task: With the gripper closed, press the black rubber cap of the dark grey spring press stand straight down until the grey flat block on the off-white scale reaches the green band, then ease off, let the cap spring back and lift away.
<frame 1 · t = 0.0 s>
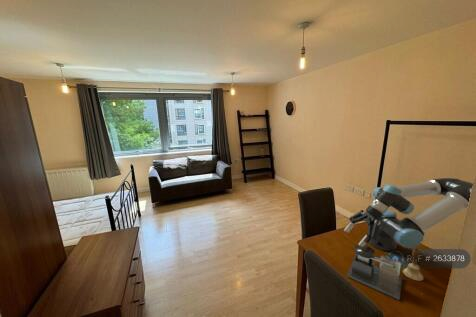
hand: (352, 238, 114), 15 cm above the table, tool tilted 35°, fingers open, 13 cm apart
press stand: (371, 276, 106), on the table
hand bell: (412, 275, 105), on the table
grey flat block: (389, 265, 97), point 12 cm above the table, slide at 0.9 cm, touching plunger
plunger: (372, 260, 104), point 10 cm above the table, slide at 1.2 cm, touching grey flat block, gripper
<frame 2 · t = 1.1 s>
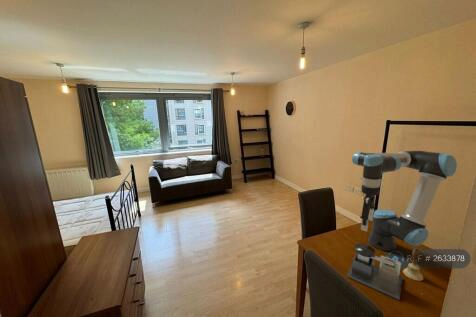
hand: (366, 225, 103), 29 cm above the table, tool pointing down, fingers open, 12 cm apart
grey flat block: (389, 265, 97), point 12 cm above the table, slide at 0.9 cm
plunger: (373, 259, 103), point 10 cm above the table, slide at 0.6 cm
everything else where it was.
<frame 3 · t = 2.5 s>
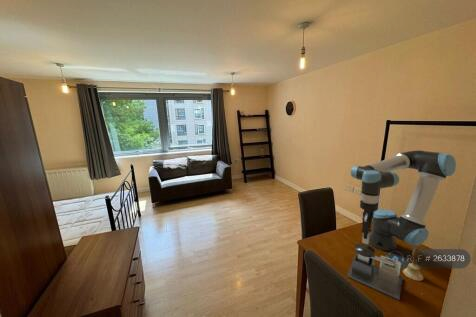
hand: (365, 242, 104), 19 cm above the table, tool pointing down, fingers closed
nothing on the table moved.
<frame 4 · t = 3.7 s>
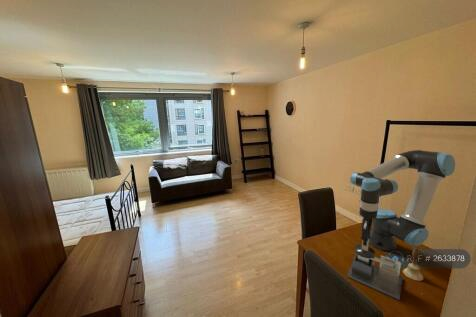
hand: (364, 249, 105), 14 cm above the table, tool pointing down, fingers closed
grey flat block: (389, 265, 97), point 12 cm above the table, slide at 1.0 cm, touching plunger
plunger: (372, 260, 104), point 10 cm above the table, slide at 1.3 cm, touching grey flat block, gripper
everything else where it was.
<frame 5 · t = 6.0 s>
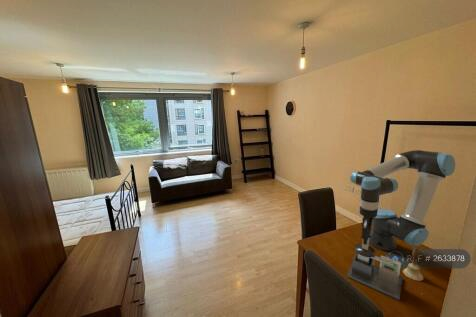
hand: (364, 248, 105), 15 cm above the table, tool pointing down, fingers closed
grey flat block: (389, 268, 98), point 10 cm above the table, slide at 2.6 cm
plunger: (373, 259, 103), point 10 cm above the table, slide at 0.6 cm
everything else where it was.
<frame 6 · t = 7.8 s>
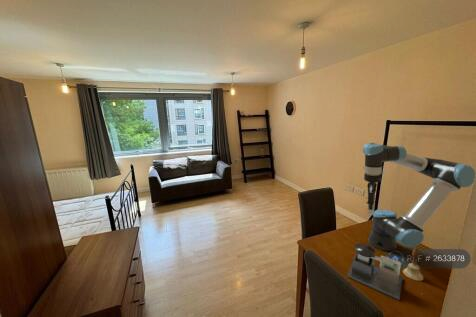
hand: (370, 213, 110), 30 cm above the table, tool pointing down, fingers closed
nothing on the table moved.
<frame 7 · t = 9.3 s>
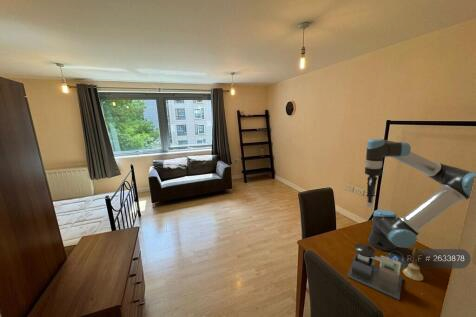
hand: (369, 206, 114), 32 cm above the table, tool pointing down, fingers closed
nothing on the table moved.
at the end: grey flat block slide at 2.6 cm; plunger slide at 0.6 cm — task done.
